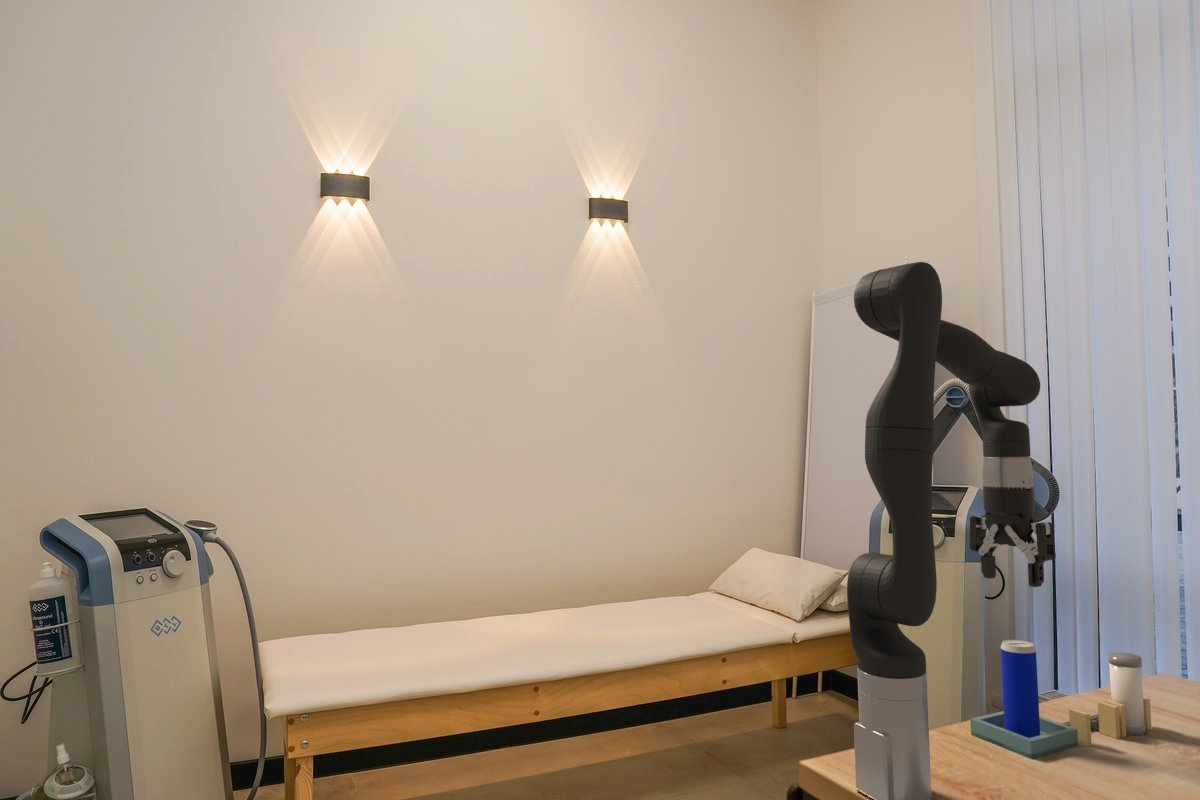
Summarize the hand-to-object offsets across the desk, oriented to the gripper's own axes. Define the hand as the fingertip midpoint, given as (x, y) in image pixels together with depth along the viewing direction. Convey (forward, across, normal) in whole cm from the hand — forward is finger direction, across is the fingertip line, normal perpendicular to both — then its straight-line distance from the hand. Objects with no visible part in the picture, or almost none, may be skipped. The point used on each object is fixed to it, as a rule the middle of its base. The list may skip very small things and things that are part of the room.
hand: (1012, 582), depth 129 cm
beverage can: (+25, 0, 0) cm, 25 cm away
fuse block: (+25, +4, +15) cm, 30 cm away
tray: (+26, +1, 0) cm, 26 cm away
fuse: (+25, +6, +19) cm, 32 cm away
